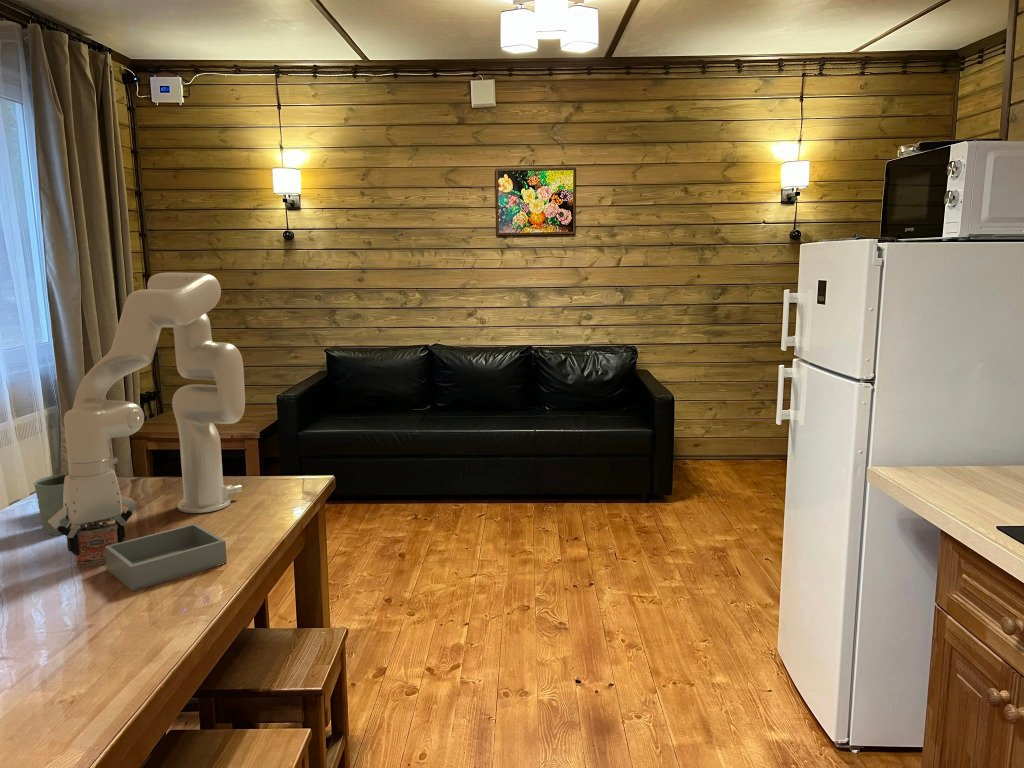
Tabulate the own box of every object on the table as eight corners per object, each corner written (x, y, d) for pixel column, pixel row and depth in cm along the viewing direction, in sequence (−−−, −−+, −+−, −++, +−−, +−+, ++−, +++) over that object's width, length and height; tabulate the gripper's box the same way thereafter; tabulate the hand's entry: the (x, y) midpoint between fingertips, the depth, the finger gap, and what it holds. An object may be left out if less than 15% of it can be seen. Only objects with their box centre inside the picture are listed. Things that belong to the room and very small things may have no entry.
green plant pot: (39, 539, 169) (33, 488, 167) (39, 525, 177) (34, 477, 175) (90, 530, 174) (85, 481, 172) (88, 517, 183) (83, 470, 181)
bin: (196, 544, 166) (195, 523, 165) (226, 563, 156) (225, 540, 155) (106, 569, 152) (104, 546, 152) (133, 591, 142) (131, 567, 142)
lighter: (76, 568, 153) (71, 521, 152) (77, 562, 156) (72, 516, 154) (120, 560, 157) (116, 515, 155) (120, 555, 160) (116, 510, 158)
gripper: (128, 456, 162) (134, 532, 165) (36, 472, 149) (45, 554, 152) (141, 462, 157) (147, 541, 160) (47, 480, 144) (56, 565, 147)
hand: (97, 547), depth 156 cm, fingers closed on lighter, 7 cm apart
